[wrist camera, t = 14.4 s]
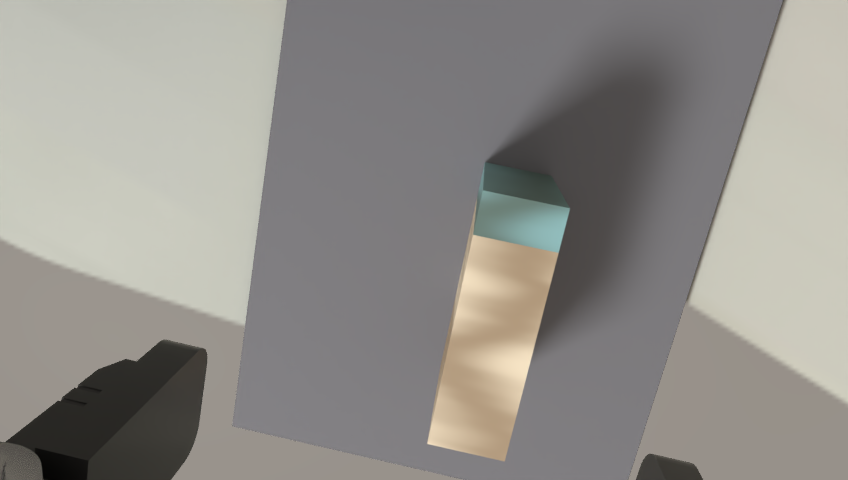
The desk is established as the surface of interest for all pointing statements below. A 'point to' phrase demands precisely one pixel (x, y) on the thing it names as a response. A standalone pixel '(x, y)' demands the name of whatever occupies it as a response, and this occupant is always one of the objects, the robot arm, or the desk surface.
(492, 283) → the tile
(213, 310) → the desk surface
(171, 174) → the desk surface
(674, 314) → the mat
